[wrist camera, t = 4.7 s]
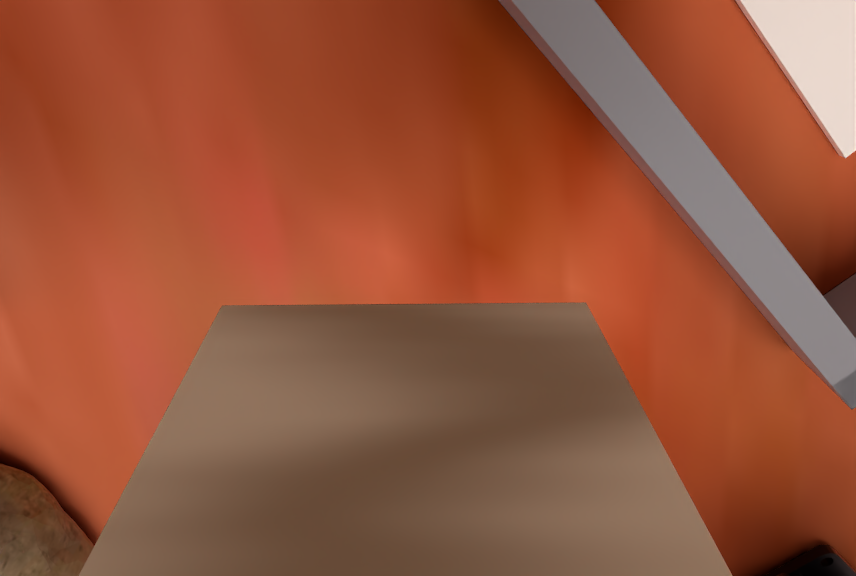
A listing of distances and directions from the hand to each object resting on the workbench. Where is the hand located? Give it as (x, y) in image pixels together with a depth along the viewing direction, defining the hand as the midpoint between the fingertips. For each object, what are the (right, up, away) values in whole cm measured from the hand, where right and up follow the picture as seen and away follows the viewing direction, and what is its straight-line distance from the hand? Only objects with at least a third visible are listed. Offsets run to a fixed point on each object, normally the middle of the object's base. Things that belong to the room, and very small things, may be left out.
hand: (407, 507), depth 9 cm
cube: (0, +1, +1) cm, 1 cm away
